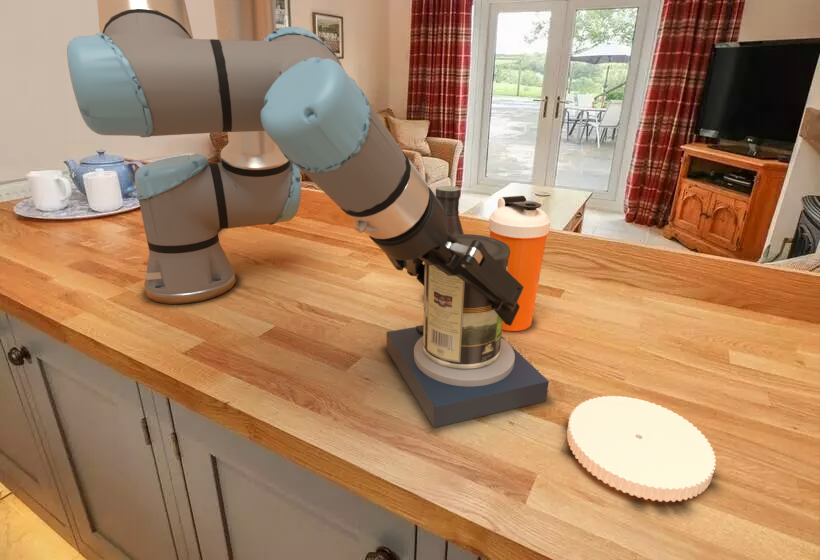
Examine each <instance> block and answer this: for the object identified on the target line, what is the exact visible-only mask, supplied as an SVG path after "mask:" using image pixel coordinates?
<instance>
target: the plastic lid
mask: <svg viewBox="0 0 820 560" xmlns="http://www.w3.org/2000/svg"><path fill="white" fill-rule="evenodd" d="M570 413H571V414H570V415H569V418H568V424H567V429H566V438H567V442H568V446H569V449H570V451H572V452H571V453H572V455H574V458H575V459H577V460H578V461H577V462H578V463H579V464H581V466H582V468H585V469H586V471H587V472H588V473H591V475H592V476H593V477H594V476H595V477H596V479H597V480H599V481H600V480H601V481H602V483H603V484H607V485H608V486H609V487H611V488H615V490H617V491H621V492H622V493H623V494H629V496H635V497H637V499H638V498H640V499H641V498H643V500H648V499H649V500H651V501H652V502H655V501H658V502H663V501H664V502H665V503H668V502H669V503H670V501H671V502H673V503H675V502H676V501H678V502H682V501H683V500H684V501H687V500H688V499H690V500H691V499H693V498H694V497H698V495H701V494H702V493H703V492H705V491H706V489H708V487H709V486H710V484H711V482H712V479H713V476H714V474H715V470H716V466H717V465H716V463H717V460H716V457H717V456H716V455H715V454H716V453H715V451H714V447H712V444H711V443H710V442H709V439H708V438H706V435H704V434H703V433H702V431H701V430H700V429H698V427H697V426H694V424H693V423H692V422H690V421H689V420H688V419H686V418H684V416H681V415H679V414H678V413H677V412H673V410H671V409H668V408H667V407H665V406H664V407H663V406H662V405H660V404H656V403H655V402H650V401H649V400H644V399H639V398H638V397H637V398H636V397H634V398H633V397H632V396H629V397H628V396H625V395H623V396H621V395H617V396H616V395H612V396H611V395H606V396H605V395H602V396H597V397H593V398H588V399H586V400H585V401H581V403H579V404H578V405H576V406H575V408H573V409H572V411H571V412H570Z"/></svg>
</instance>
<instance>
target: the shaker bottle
mask: <svg viewBox="0 0 820 560" xmlns="http://www.w3.org/2000/svg"><path fill="white" fill-rule="evenodd" d="M541 207H542V204H541V203H540V202H537V201H533V200H528V198H527V197H526V196H525V195H511V196H501V197H498V200H497V208H496V209H494V210H493V212H492V213H491V214H490V215H489V220H488V221H489V222H488V230H489V237H491V238H494V239H497V240H500V241H502V242H504V243H505V244H507V245H508V246H509V248H510V256H509V258H508V268H507V271H508V272H509V273H510V274H511V275H512V276H513V277H514V278H515V279H516V280H517V281H518V282H519V283H520V284H521V285H522V286H523V287H524V289H523V291H522V293H521V295H520V297H519V299H518V301H517V303H518V305H519V306H520V308H519V310H518V312H517V314H516V316H515V318H514V320H513V322H512V324H511V326H510V325H507V324H505V323H504V321H503V322H502V331H507V332H520V331H524V330H527V329H529V328H530V327H531V326H532V322H533V317H534V310H535V305H536V299H537V294H538V288H539V282H540V276H541V272H542V271H541V270H542V265H543V259H544V254H545V248H546V242H547V237H548V235H549V234H550V226H551V219H550V218H549V216H548V214H547V213H546V212H545V211H544V210H542V209H540V208H541Z"/></svg>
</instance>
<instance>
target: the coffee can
mask: <svg viewBox="0 0 820 560" xmlns="http://www.w3.org/2000/svg"><path fill="white" fill-rule="evenodd" d="M452 235H453V236H454V237H456V238H457V240H458V241H459V242H460V243H462V244H463V245H466V246H470V245H471V243H472V241H473V240H477V241H480V242H481V243H482V244H483V245H484V247H485V249H486V250H487V252H488V253H489V254H490V255H491V256H492V257H493V258H494V259H495V260H496V261H497V262H498V263H499V264H500V265H501V266H502V267H503V268H504V269H505V270H506V271H507V268H508V258H509V256H510V248H509V246H508V245H507V244H505V243H504V242H502V241H500V240H497V239H494V238H491V237H490V236H487V235H481V234H480V235H479V234H473V233H472V234H470V233H469V234H468V233H464V234H452ZM454 257H455V255H454V256H453V258H452V259H451V261H450V262H449V263H448V264H447V266H450V265H451V263H452V261H453V259H454ZM424 263H425V262H424ZM489 300H490V299H489V298H487V297H486V296H484V295H483V294H481V293H480V292H479V291H477V290H476V289H474V288H473V287H471V286H470V285H469V284H467V283H466V282H464V281H463V280H461V279H460V278H459V277H457V276H448V275H447V274H445V273H444V272H442V271H441V270H439V269H438V268H436V267H435V266H433V265H428V264H427V263H425V272H424V286H423V325H424V327H423V345H422V348H423V351H424V353H425V355H426V356H427V357H428V358H429V359H430V360H432V361H434V362H436V363H438V364H440V365H443V366H446V367H451V368H457V369H474V368H480V367H484V366H487V365H489V364H491V363H493V362H494V361H495V360H496V359H497V358H498V357H499V355H500V352H501V348H500V344H501V336H502V331H503V330H502V322H503V320H502V319H501V318H500V316H499V315H498V314H497V313H496V311H495V310H494V309H492V308H491V305H490V304H489Z"/></svg>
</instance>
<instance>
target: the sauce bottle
mask: <svg viewBox="0 0 820 560" xmlns="http://www.w3.org/2000/svg"><path fill="white" fill-rule="evenodd" d="M435 196H436V197H437V199H438V200H439V201H440V203H441V204H442V206H443V207H444V210H445V213H446V221H447V230H448V231H449V232H450V233H451V234H465V233H464V230H463V225H462V222H461V218H460V216H459V213H460V212H459V205H460V198H461V188H459V187H458V186H454V185H453V186H452V185H451V186H450V185H442V186H437V187H435Z"/></svg>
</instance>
